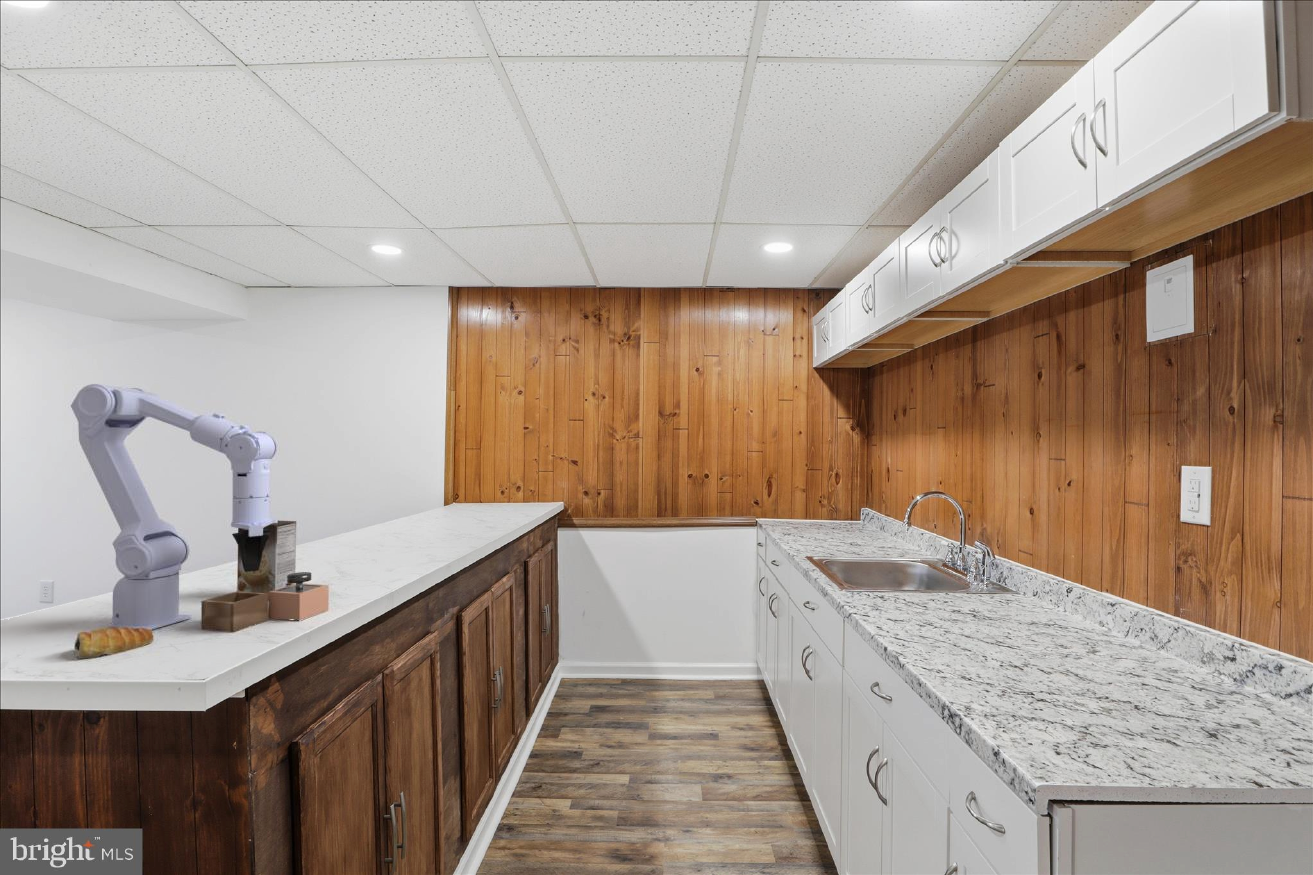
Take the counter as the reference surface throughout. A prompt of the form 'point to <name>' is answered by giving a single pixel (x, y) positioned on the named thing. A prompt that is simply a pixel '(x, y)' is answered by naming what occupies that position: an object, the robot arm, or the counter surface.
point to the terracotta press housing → (298, 602)
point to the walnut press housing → (234, 611)
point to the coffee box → (271, 561)
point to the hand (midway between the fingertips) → (251, 570)
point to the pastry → (110, 641)
